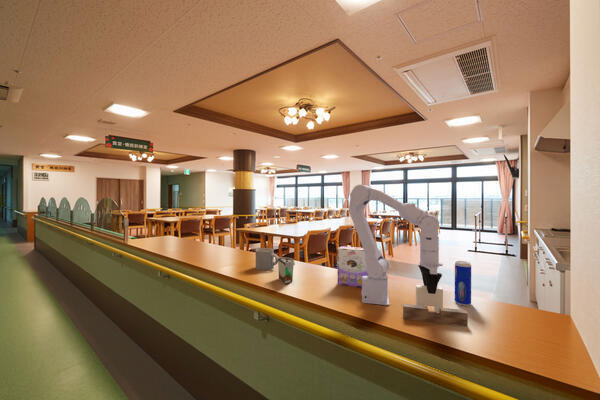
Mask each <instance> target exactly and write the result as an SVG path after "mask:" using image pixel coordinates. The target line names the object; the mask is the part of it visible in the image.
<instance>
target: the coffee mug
mask: <svg viewBox="0 0 600 400" xmlns="http://www.w3.org/2000/svg"><path fill="white" fill-rule="evenodd" d="M278 257H279V256H278V255H277V254H276V253H275V250H274V248H271V247H269V248H268V247H262V248H256V249H255V269H256V270H257V271H270V270H273V269H274V268H275V266H277V264H278Z"/></svg>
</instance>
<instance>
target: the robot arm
mask: <svg viewBox="0 0 600 400" xmlns="http://www.w3.org/2000/svg"><path fill="white" fill-rule="evenodd" d="M349 198H350V199H349V205H348V212H349V215H350V217H351V221H352V223H353V226H354V228H355V231H356V233H357V235H358V239H359V241H360V244H361V246H362V247H361V248H363V249H364V252H365V262H366V271H367V274H368V276H363V277H362V288H361V292H360V293H361V302H362V304H370V305H373V304H374V305H381V306H389V305H390V301H389V296H388V294H389V291H388V287H389V286H388V283H389V282H388V279H389V278H388V275H387V272H388V269H389V263H388V260H387V259H386V258H385V257H384V256H383V254H382V252H381V251H380V250H379V248H378V246H377V243H376V240H375V238H374V235H373V232H372V230H371V227H370V225H369V223H368V220H367V217H366V214H365V212H364V210H365V208H366V207H367V204H369V202H371V201H377V202H380V203H382V204H384V205H385V206H388V207H390V208H391V209H393V210H395V211H397V212H398V214H399V217H400V218H403V220H406V221H407V222H410V223H411V224H412V225H414V226H419V229H420V236H419V247H420V249H419V264H418V265H417V266H418V268H419V270H420V272H421V277H422V278H421V279H422V282H423V286H427V291H428V293H429V294H435V293H436V289H437V287H438V285H439V282H440V280H441V278H442V277H443V274H442V273H440V272H438V269H439V267H444V266H443V263H442V262H439V260H440V259H439V258H440V257H439V255H440V253H439V249H440V247H439V245H440V242H439V241H440V239H439V230H438V229H439V226H440V221H439V219H438V217H436V216H435V215H434V214H432V213H429V212H430V211H427V210H423V209H421V208H420V207H417V206H416V204H415V203H413V202H412V203H410V202H405V203H403V202H401V201H400V200H398V199H396V198H394V197H393V196H391V195H389V194H388V193H385V192H384V191H382V190H381V189H377V188H376V187H375V188H374V187H372V186H370V185H366V184H365V185H364V184H357V185H355V186H354V187H352V190H351V192H350V193H349Z"/></svg>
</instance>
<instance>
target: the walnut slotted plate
mask: <svg viewBox="0 0 600 400" xmlns="http://www.w3.org/2000/svg"><path fill="white" fill-rule="evenodd" d="M428 307H429V306H425V305H424V306H422V305H416V304H411V303H402V318H403V320H409V321H410V320H411V321H417V320H418V321H419V322H427V323H433V324H434V323H435V324H442V323H443V324H444V325H452V326H460V327H468V326H469V325H468V324H469V322H468V321H469V318H468V317H469V316H468V315H469V314H468V312H467V310H465V309H461V308H460V309H458V308H449V307H443V308H441V307H439V313H436V312H429V308H428Z"/></svg>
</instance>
